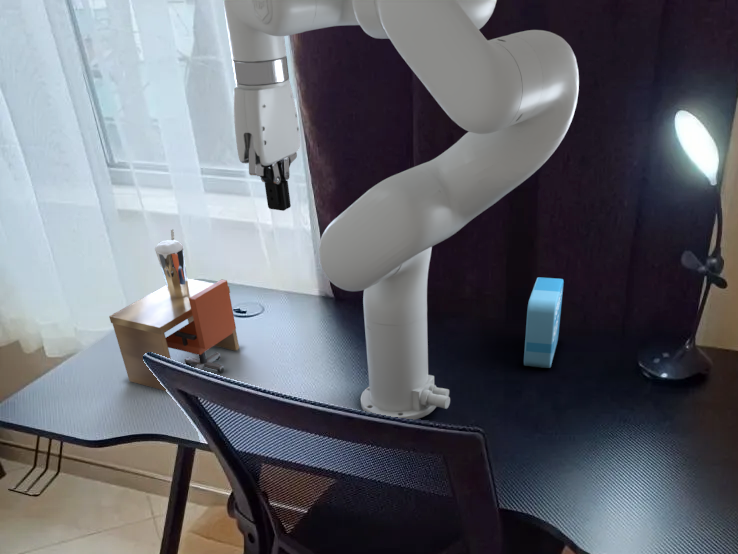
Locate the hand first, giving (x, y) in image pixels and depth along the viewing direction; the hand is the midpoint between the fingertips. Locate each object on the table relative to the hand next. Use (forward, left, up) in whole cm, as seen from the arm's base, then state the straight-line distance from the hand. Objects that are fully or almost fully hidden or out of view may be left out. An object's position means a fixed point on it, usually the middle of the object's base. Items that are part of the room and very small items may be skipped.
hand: (279, 207), depth 121 cm
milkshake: (+20, +5, -15) cm, 26 cm away
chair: (+15, +8, -27) cm, 32 cm away
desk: (+20, +8, -27) cm, 34 cm away
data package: (-37, -21, -27) cm, 51 cm away
